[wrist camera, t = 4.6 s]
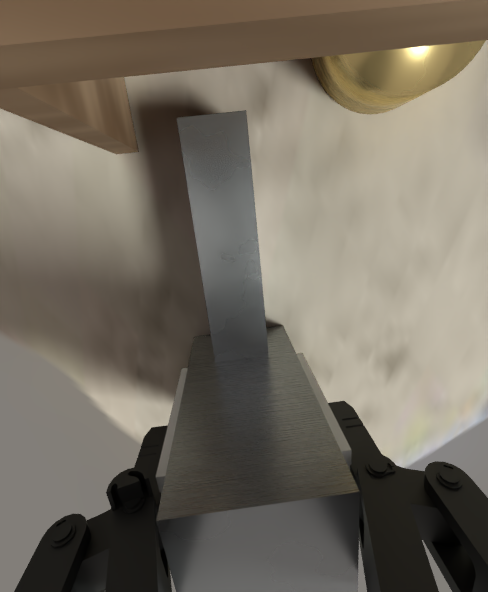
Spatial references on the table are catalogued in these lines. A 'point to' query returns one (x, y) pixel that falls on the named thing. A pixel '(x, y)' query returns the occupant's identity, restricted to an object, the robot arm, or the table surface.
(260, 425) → the grey toy mallet
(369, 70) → the gold metal dome
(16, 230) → the table surface
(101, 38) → the brown piece
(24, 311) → the table surface
